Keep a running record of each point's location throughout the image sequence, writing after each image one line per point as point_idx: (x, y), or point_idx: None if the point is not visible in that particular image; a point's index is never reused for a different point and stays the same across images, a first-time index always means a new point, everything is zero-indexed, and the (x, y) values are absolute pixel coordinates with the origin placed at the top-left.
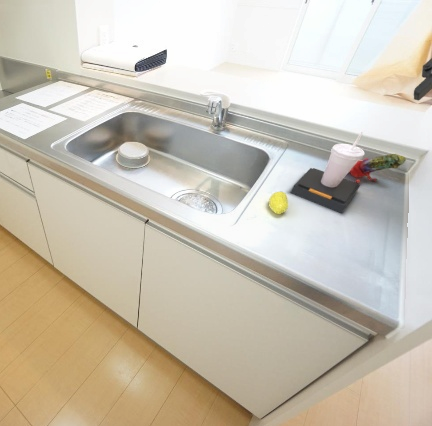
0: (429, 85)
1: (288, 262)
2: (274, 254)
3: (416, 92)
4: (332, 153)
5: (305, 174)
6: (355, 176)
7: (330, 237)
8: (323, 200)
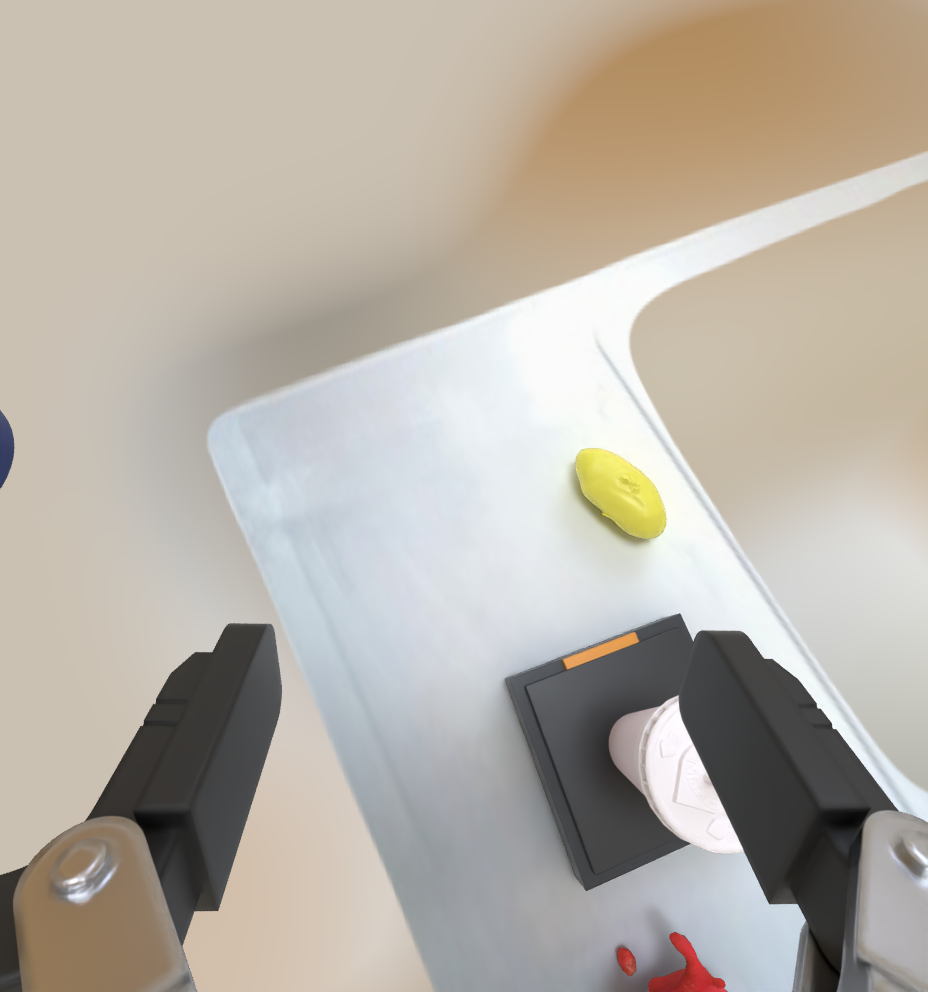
0: (751, 731)
1: (428, 358)
2: (463, 350)
3: (732, 632)
4: None
5: None
6: (654, 977)
7: (441, 533)
8: (573, 653)
